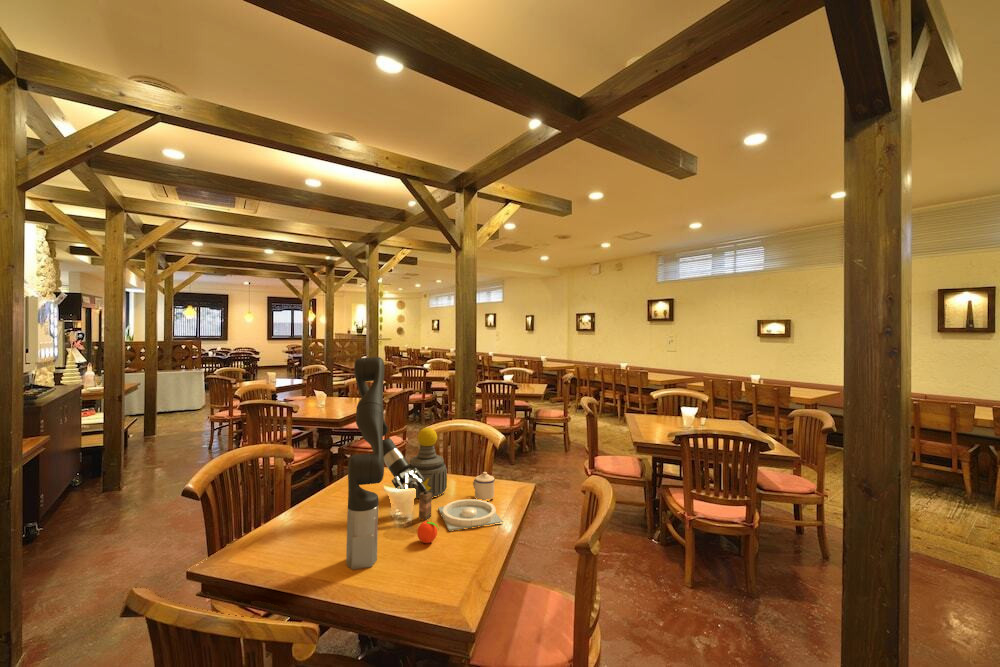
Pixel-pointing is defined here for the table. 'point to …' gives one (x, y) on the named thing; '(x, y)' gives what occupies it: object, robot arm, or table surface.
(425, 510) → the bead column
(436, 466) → the decorative lamp
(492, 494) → the teacup with lid
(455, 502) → the groove dish
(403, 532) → the table surface
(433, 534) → the clementine
